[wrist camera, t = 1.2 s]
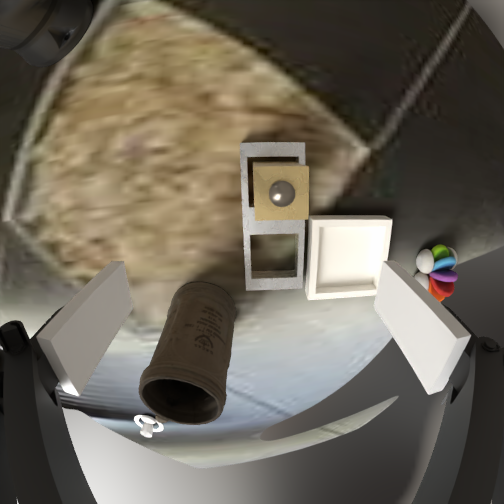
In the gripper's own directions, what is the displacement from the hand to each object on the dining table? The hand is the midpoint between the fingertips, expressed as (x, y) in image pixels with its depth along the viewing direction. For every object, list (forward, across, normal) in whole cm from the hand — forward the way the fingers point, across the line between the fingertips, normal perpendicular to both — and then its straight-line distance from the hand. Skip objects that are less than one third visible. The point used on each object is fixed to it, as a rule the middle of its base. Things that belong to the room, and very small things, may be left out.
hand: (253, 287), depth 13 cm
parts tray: (+25, +14, -8) cm, 30 cm away
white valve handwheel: (+26, -24, -54) cm, 65 cm away
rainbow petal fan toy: (+26, +31, -11) cm, 42 cm away
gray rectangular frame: (+25, +3, -2) cm, 25 cm away
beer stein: (+25, -9, -20) cm, 33 cm away
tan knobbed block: (+25, +3, +2) cm, 25 cm away
